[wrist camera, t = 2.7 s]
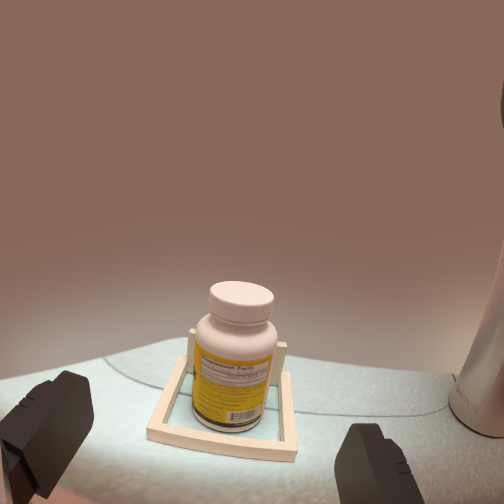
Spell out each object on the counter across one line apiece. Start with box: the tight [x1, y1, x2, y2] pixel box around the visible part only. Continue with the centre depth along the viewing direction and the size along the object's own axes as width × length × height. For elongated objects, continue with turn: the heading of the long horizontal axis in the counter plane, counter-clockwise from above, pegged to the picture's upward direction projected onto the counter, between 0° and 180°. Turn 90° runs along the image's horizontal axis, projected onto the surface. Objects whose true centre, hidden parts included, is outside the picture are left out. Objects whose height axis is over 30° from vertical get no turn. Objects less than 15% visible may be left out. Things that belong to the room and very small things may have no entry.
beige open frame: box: [146, 328, 298, 462], centre depth 22 cm, size 10×10×4 cm
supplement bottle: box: [192, 281, 278, 432], centre depth 21 cm, size 5×5×10 cm
